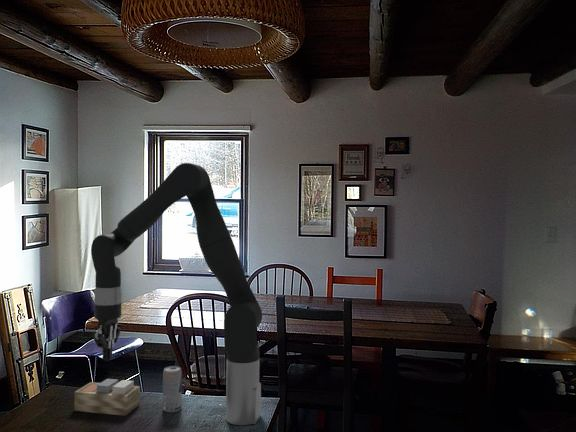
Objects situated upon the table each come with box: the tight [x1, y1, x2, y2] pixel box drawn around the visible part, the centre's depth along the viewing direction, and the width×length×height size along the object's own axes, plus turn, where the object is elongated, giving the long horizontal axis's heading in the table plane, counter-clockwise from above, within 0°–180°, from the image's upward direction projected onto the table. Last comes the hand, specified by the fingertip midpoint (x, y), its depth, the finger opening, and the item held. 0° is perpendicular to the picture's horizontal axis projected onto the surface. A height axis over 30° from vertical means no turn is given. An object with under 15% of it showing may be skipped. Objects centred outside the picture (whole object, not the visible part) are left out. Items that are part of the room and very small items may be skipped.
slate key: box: [97, 378, 119, 394], centre depth 149 cm, size 4×6×3 cm, turn 169°
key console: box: [74, 381, 141, 417], centre depth 149 cm, size 16×8×6 cm, turn 79°
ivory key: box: [113, 379, 135, 395], centre depth 148 cm, size 4×6×3 cm, turn 169°
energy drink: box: [162, 365, 183, 413], centre depth 148 cm, size 5×5×12 cm
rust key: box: [82, 384, 98, 392], centre depth 150 cm, size 4×6×3 cm, turn 169°
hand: (107, 359), depth 148 cm, fingers closed
